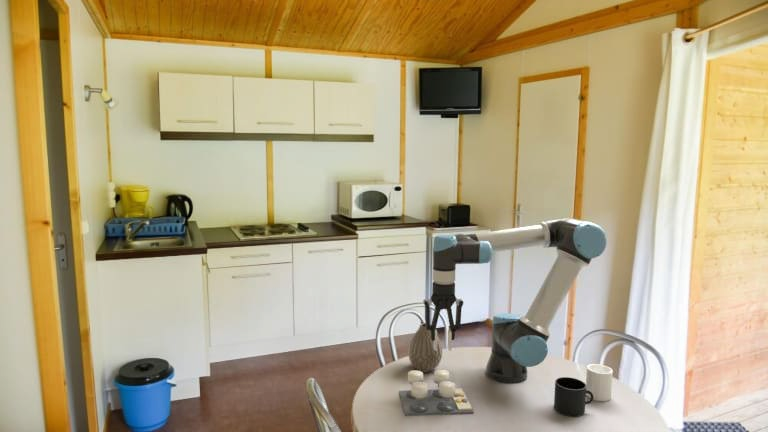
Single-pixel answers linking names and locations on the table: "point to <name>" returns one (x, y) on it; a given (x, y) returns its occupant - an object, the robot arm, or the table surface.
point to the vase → (424, 350)
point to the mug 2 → (599, 382)
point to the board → (435, 404)
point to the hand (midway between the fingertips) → (442, 349)
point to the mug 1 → (570, 396)
